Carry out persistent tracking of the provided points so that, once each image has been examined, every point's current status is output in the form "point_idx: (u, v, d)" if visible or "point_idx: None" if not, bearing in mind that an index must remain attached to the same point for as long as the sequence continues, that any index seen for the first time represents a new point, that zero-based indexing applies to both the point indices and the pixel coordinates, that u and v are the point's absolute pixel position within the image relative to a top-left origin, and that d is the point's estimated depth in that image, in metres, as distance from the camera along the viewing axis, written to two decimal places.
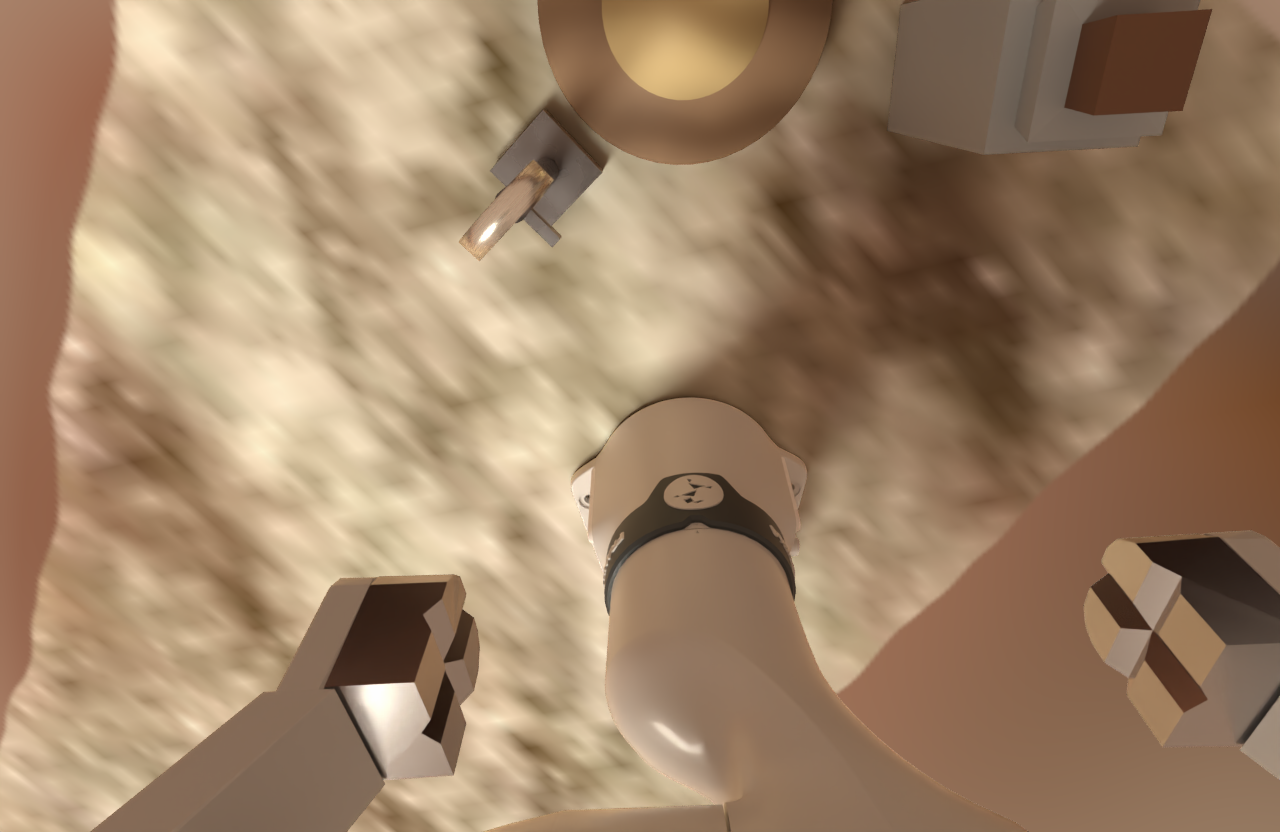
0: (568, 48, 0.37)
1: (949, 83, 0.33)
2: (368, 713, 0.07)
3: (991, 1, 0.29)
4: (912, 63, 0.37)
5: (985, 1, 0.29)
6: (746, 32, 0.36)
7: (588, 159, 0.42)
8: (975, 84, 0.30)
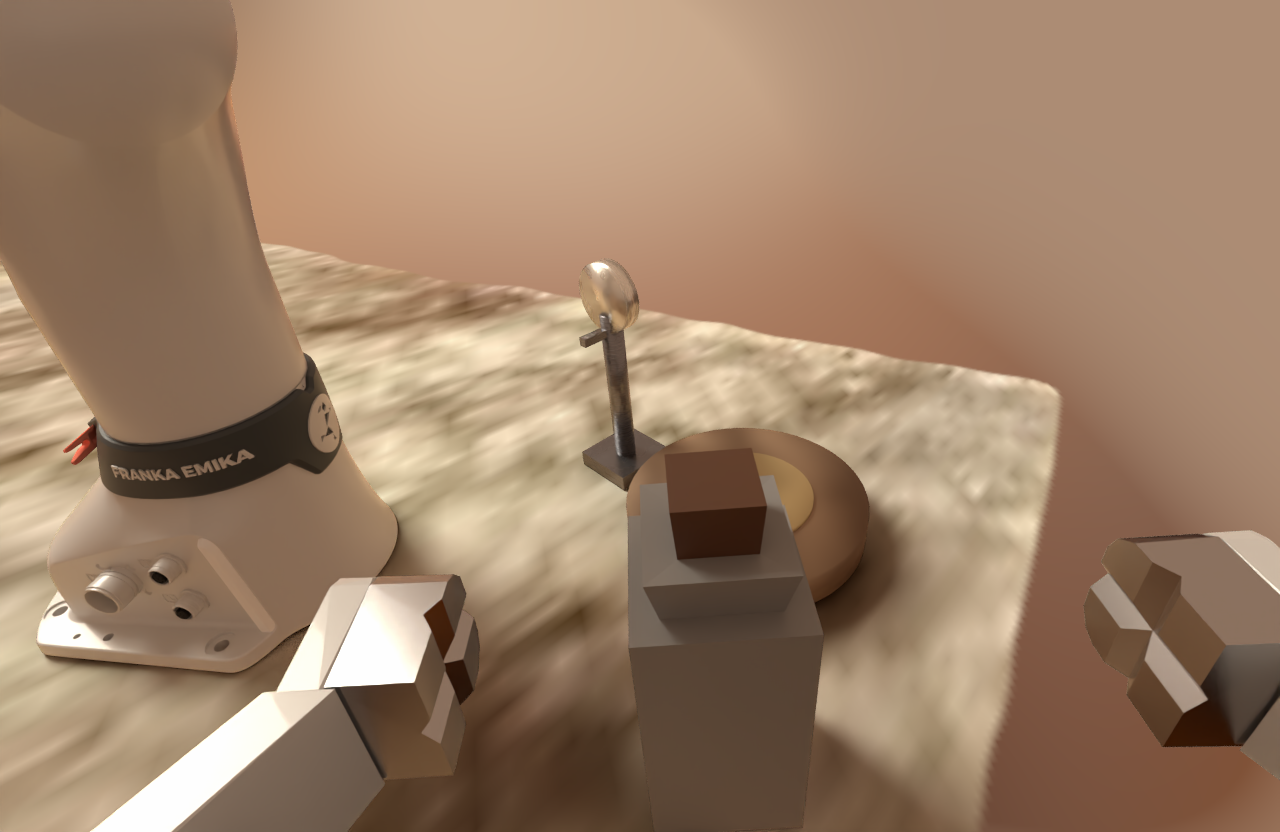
0: (710, 441, 0.50)
1: None
2: (368, 713, 0.07)
3: None
4: None
5: None
6: None
7: (633, 471, 0.51)
8: None
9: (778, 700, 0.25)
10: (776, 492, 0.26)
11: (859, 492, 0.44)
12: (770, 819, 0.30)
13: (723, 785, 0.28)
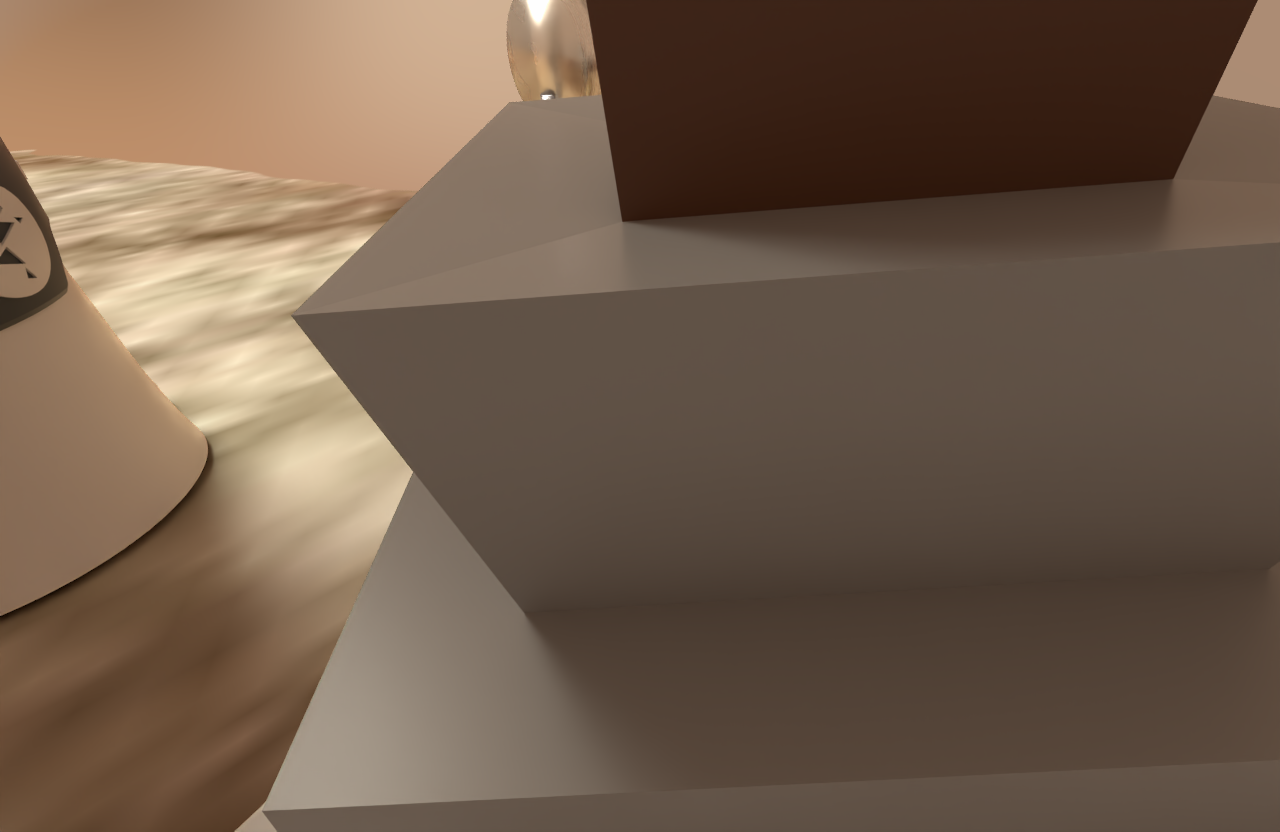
0: None
1: None
2: None
3: None
4: None
5: None
6: None
7: None
8: None
9: None
10: None
11: None
12: None
13: None
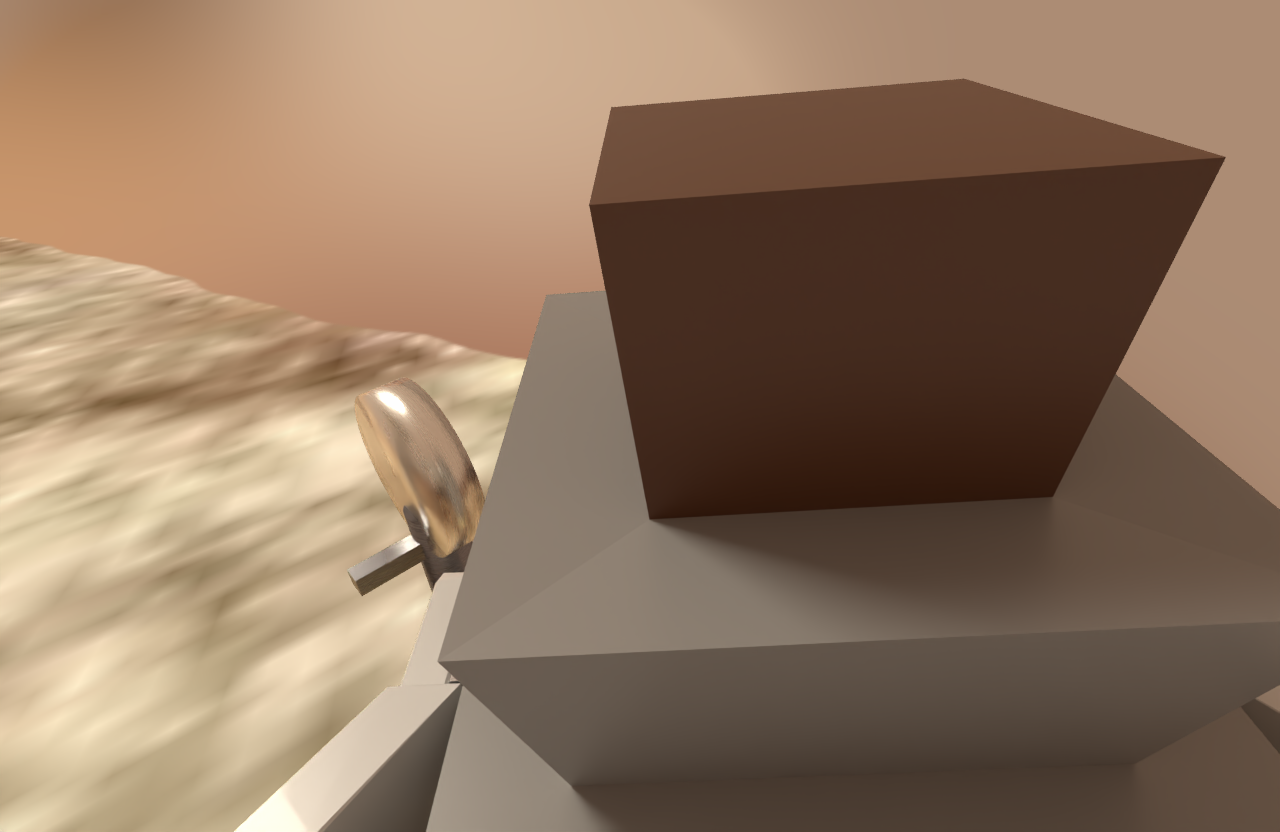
0: None
1: None
2: None
3: None
4: None
5: None
6: None
7: None
8: None
9: None
10: None
11: None
12: None
13: None
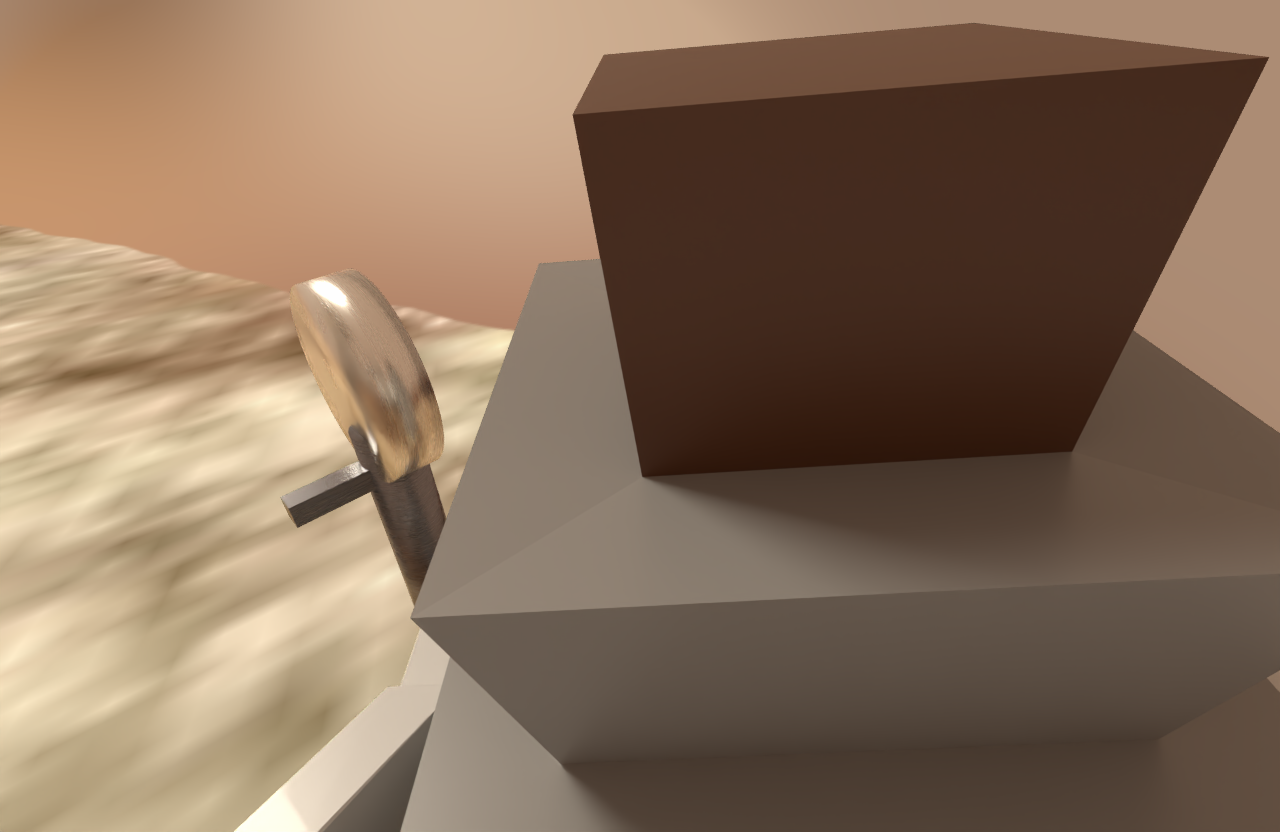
0: None
1: None
2: None
3: None
4: None
5: None
6: None
7: None
8: None
9: None
10: None
11: None
12: None
13: None
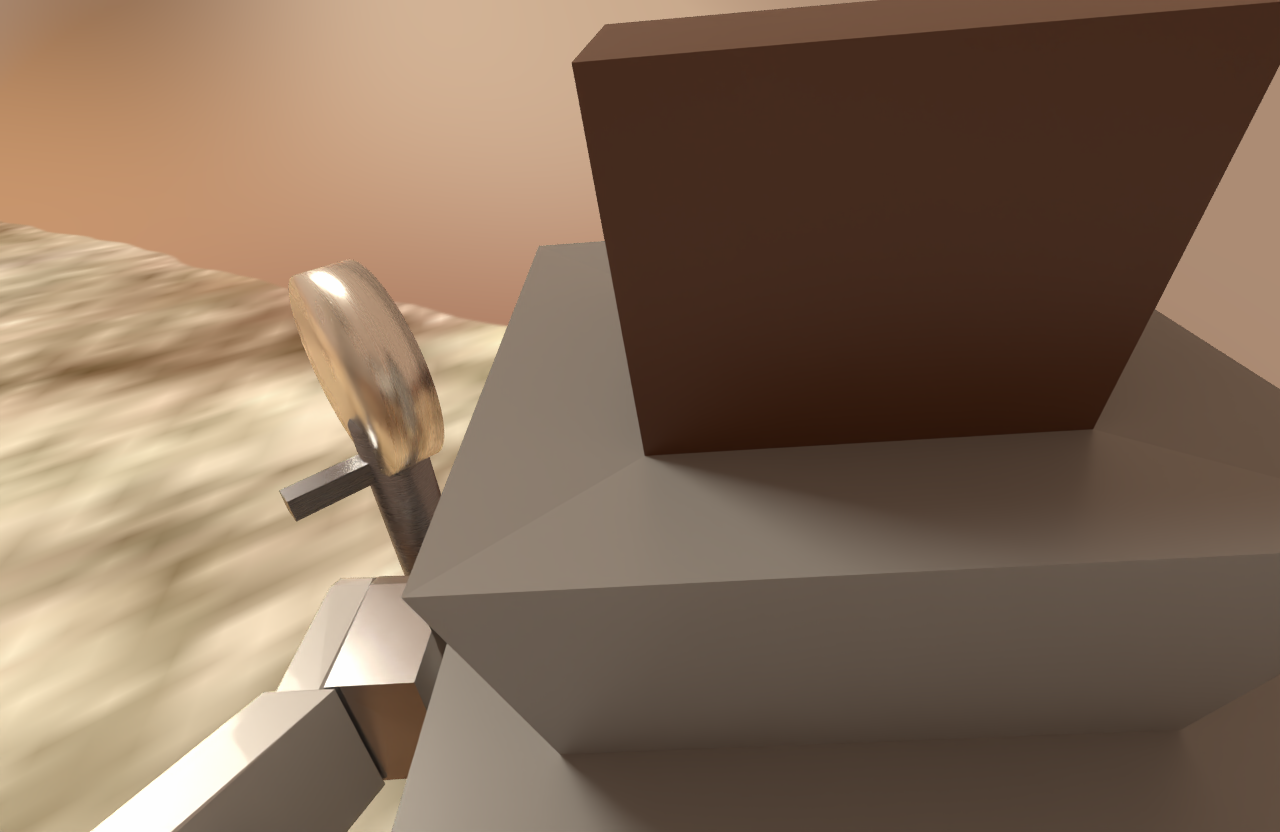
0: None
1: None
2: (368, 713, 0.07)
3: None
4: None
5: None
6: None
7: None
8: None
9: None
10: None
11: None
12: None
13: None
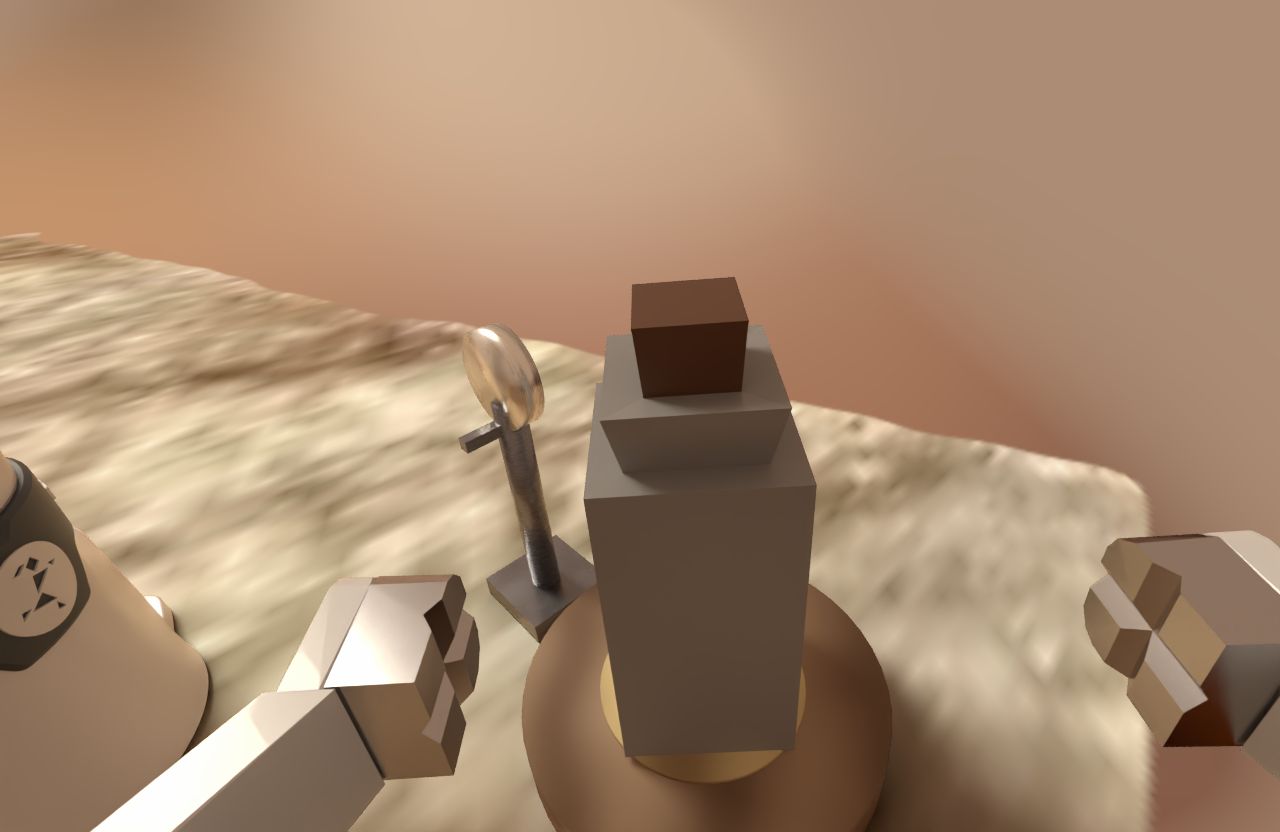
0: None
1: None
2: (368, 713, 0.07)
3: None
4: None
5: None
6: None
7: (551, 615, 0.36)
8: None
9: (763, 576, 0.21)
10: (764, 339, 0.22)
11: (875, 682, 0.29)
12: (758, 738, 0.26)
13: (702, 691, 0.24)
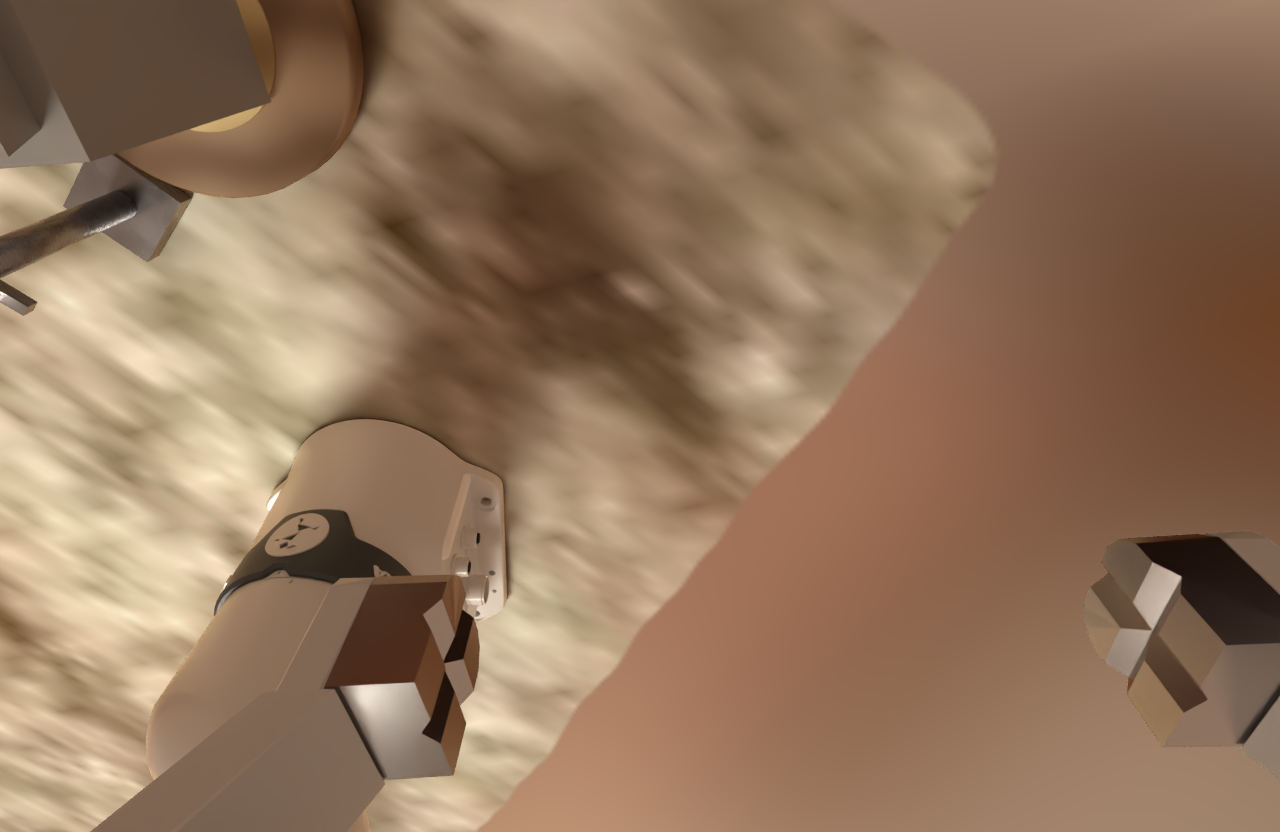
0: None
1: None
2: (368, 713, 0.07)
3: None
4: None
5: None
6: None
7: (161, 190, 0.39)
8: None
9: None
10: None
11: None
12: None
13: (201, 36, 0.29)
